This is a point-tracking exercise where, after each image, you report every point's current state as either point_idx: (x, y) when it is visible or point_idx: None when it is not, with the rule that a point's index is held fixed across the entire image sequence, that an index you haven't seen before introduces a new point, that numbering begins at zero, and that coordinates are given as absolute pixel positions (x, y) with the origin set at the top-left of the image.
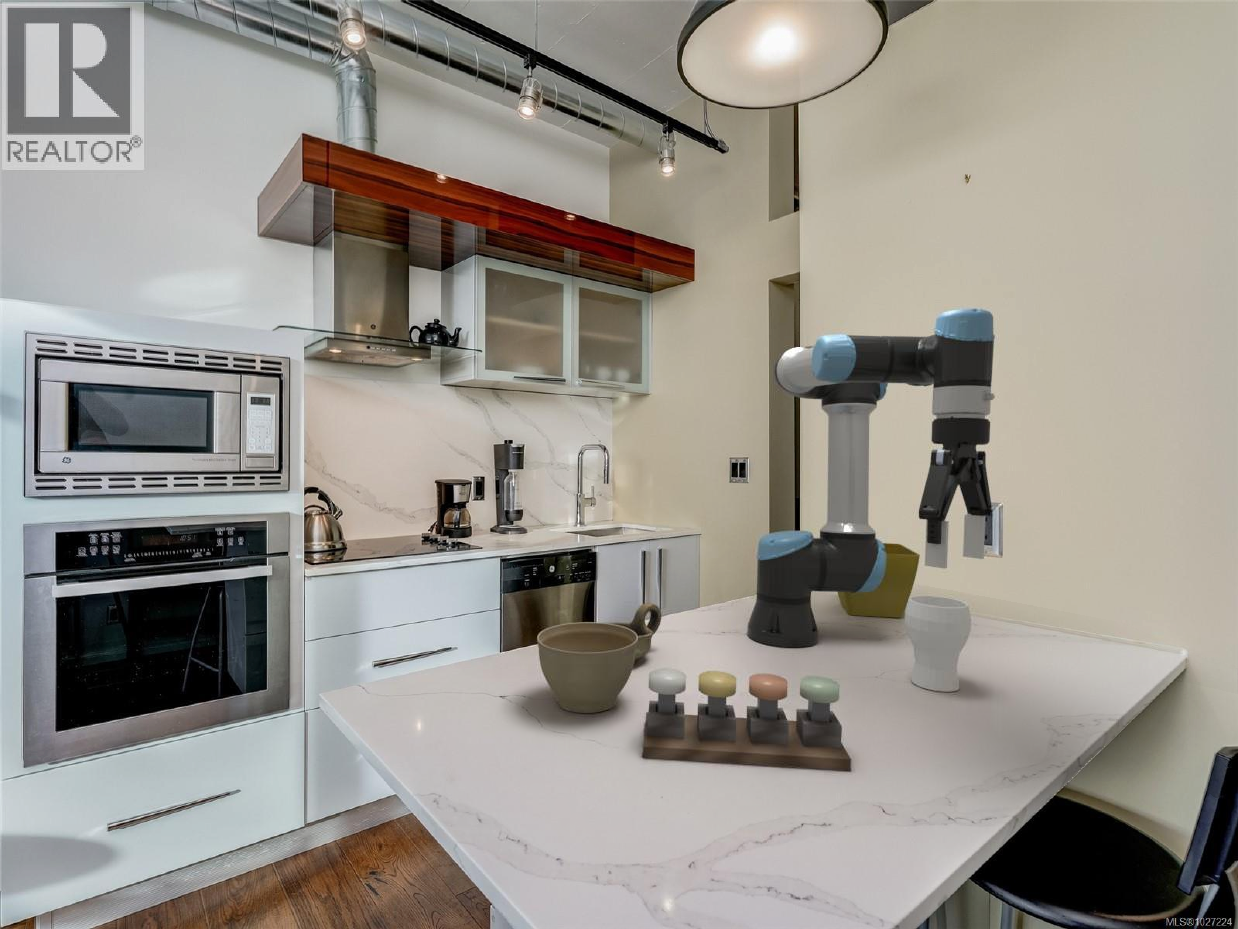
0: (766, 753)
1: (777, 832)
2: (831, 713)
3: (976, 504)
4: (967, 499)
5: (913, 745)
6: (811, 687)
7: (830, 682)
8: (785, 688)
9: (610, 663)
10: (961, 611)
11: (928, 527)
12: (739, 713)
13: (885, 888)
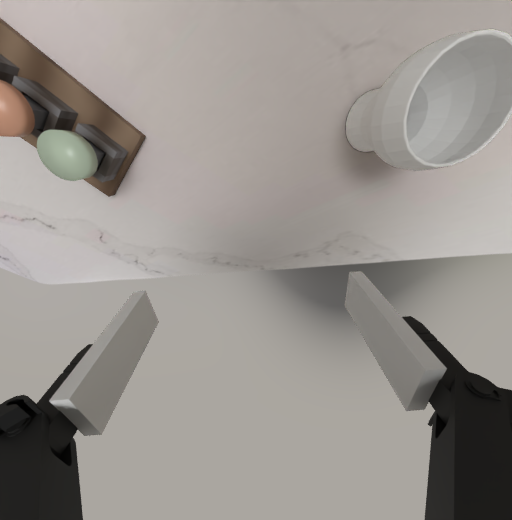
0: (34, 145)
1: (11, 216)
2: (111, 156)
3: (436, 457)
4: (446, 476)
5: (200, 197)
6: (43, 161)
7: (78, 163)
8: (14, 135)
9: None
10: (422, 166)
11: (51, 389)
12: (68, 17)
13: (52, 273)
